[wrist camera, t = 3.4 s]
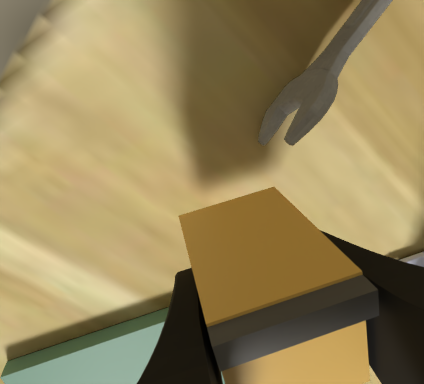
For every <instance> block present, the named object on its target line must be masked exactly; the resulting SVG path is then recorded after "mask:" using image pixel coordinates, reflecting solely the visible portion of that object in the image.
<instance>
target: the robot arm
mask: <svg viewBox="0 0 424 384" xmlns="http://www.w3.org/2000/svg"><path fill="white" fill-rule="evenodd" d="M320 231H321V230H320ZM321 232H322V233H323V234H324V235H325V236H326V237H327V238H328V239H329V240H330V241H331V242H332V243H333V244H334V245H335V246H336V247H337V248H339V249H340V250H341V251H342V252H343V253H344V254H345V255H346V256H347V257H348V258H349V259H350V260H351V261H352V262H353V263H354V264H355V265H356V266H357V267H358V268H359V269H360V270H362V274H363V275H364V276H365V277H366V278H367V279H368V280H369V281H370V282H371V283H372V284H373V285H374V286H375V287H376V288H377V289H378V298H379V316H377V317H374V318H371V319H368V320H366V330H367V344H368V359H369V365H370V366H371V368H372V369H373V371H374V373H375V374H376V376H377V377H378V379H379V380H380V382H381V383H382V384H424V252H421V253H418V254H415V255H412V256H409V257H406V258H403V259H401V260H396V259H393V258H390V257H387V256H384V255H381V254H378V253H375V252H372V251H369V250H367V249H364V248H361V247H359V246H356V245H354V244H351V243H349V242H347V241H344V240H342V239H339V238H337V237H335V236H332V235H330V234H328V233H325V232H323V231H321ZM137 384H223V381H222V375H221V372H220V370H219V367H218V364H217V361H216V358H215V355H214V352H213V349H212V345H211V341H210V337H209V333H208V329H207V326H206V322H205V318H204V314H203V310H202V306H201V302H200V298H199V294H198V291H197V287H196V283H195V279H194V275H193V271H192V268H190V269H186V270H183V271H180V272H177V274H176V276H175V284H174V290H173V294H172V299H171V303H170V306H169V310H168V314H167V317H166V320H165V323H164V326H163V328H162V331H161V334H160V337H159V339H158V342H157V344H156V346H155V349H154V351H153V353H152V355H151V357H150V360H149V362H148V364H147V366H146V367H145V369H144V371H143V373H142V375H141V377H140V379H139V381H138V382H137Z"/></svg>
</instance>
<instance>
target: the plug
mask: <svg viewBox="0 0 424 384" xmlns="http://www.w3.org/2000/svg"><path fill="white" fill-rule="evenodd" d="M179 219H180V223H181V227H182V231H183V235H184V239H185V243H186V247H187V251H188V255H189V259H190V263H191V267H192V271H193V275H194V279H195V283H196V287H197V291H198V294H199V298H200V302H201V306H202V310H203V314H204V318H205V322H206V326H207V329H208V333H209V337H210V341H211V345H212V349H213V352H214V355H215V358H216V361H217V364H218V367H219V370H220V372H222V375H223V378H224V381H225V384H363V383H366V382H368V381H370V373H369V359H368V344H367V330H366V320H368V319H371V318H374V317H377V316H379V298H378V289H377V288H376V287H375V286H374V285H373V284H372V283H371V282H370V281H369V280H368V279H367V278H366V277H365V276H364V275H363V274H362V270H360V269H359V268H358V267H357V266H356V265H355V264H354V263H353V262H352V261H351V260H350V259H349V258H348V257H347V256H346V255H345V254H344V253H343V252H342V251H341V250H340V249H339V248H337V247H336V246H335V245H334V244H333V243H332V242H331V241H330V240H329V239H328V238H327V237H326V236H325V235H324V234H323V233H322V232H321V231H320V230H319V229H318V228H317V227H316V226H315V225H313V224H312V223H311V222H310V221H309V220H308V219H307V218H306V217H305V216H304V215H303V214H302V213H301V212H300V211H299V210H298V209H297V208H296V207H295V206H294V205H293V204H292V203H290V202H289V201H288V200H287V199H286V198H285V197H284V196H283V195H282V194H281V193H280V192H279V191H278V190H277V189H276V188H275V187H271V188H268V189H265V190H261V191H258V192H255V193H252V194H248V195H245V196H242V197H239V198H235V199H232V200H229V201H226V202H222V203H219V204H216V205H212V206H209V207H206V208H203V209H199V210H196V211H193V212H190V213H186V214H183V215H180V216H179Z"/></svg>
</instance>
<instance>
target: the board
mask: <svg viewBox="0 0 424 384" xmlns="http://www.w3.org/2000/svg"><path fill="white" fill-rule="evenodd" d="M168 310H169V307H168V308H165V309H162V310H159V311H156V312H153V313H150V314H147V315H144V316H141V317H138V318H135V319H132V320H129V321H126V322H123V323H120V324H117V325H114V326H111V327H108V328H105V329H102V330H99V331H97V332H94V333H91V334H88V335H85V336H82V337H79V338H76V339H73V340H70V341H67V342H64V343H61V344H58V345H55V346H52V347H49V348H46V349H43V350H40V351H37V352H34V353H31V354H28V355H25V356H22V357H19V358H16V359H13V360H10V361H7V363H6V365H5V368H4V370H3V373H2V375H1V377H0V378H1V379H2V380H3V382H4V383H5V384H137V382H138V381H139V379H140V377H141V375H142V373H143V371H144V369H145V367H146V366H147V364H148V362H149V360H150V357H151V355H152V353H153V351H154V349H155V346H156V344H157V342H158V339H159V337H160V334H161V331H162V328H163V326H164V323H165V320H166V317H167V314H168ZM221 375H222V372H221ZM222 381H223V384H225V381H224V378H223V375H222Z"/></svg>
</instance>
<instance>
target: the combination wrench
mask: <svg viewBox="0 0 424 384" xmlns="http://www.w3.org/2000/svg"><path fill="white" fill-rule="evenodd" d="M391 2H392V0H362V1H361V2H360V3H359V5H358V6H357V7H356V9H355V10H354V11H353V13H352V14H351V15H350V17H349V18H348V19H347V21H346V22H345V23H344V25H343V26H342V27H341V29H340V30H339V31H338V33H337V34H336V35H335V37H334V38H333V39H332V41H331V42H330V43H329V45H328V46H327V47H326V49H325V50H324V51H323V52H322V53H321V54H320V55H319V57H318V58H317V59H316V60H315V61H314V62H313V63H312V64H311V65H310V66H309V67H308V68H307V69H306V70H305V71H304V72H303V73H302V74H301V75H300V76H298V77H297V78H295V79H293V80H292V81H290V82H289V83H288V84H287V85H286V86H285V87H284V89H283V90H282V91H281V93H280V94H279V95H278V96H277V98H276V99H275V100H274V102H273V103H272V104H271V106H270V107H269V108H268V110H267V111H266V113H265V116H264V119H263V121H262V125H261V129H260V133H259V139H258V142H259V143H260V144H261V145H266V144H267V143H268V141H269V140H270V139H271V138H272V136H273V135H274V134H275V133H276V131H277V130H278V129H279V127H280V126H281V124H282V123H283V121H284V120H285V118H286V117H287V115H289V114H290V113H292V112H293V111H295V110H296V109H298V108H299V109H298V111H297V113H296V115H295V117H294V119H293V121H292V123H291V125H290V127H289V129H288V131H287V133H286V136H285V138H284V140H285V141H286V142H287V143H288V144H289V145H292V146H293V145H294V144H295V143H297V142H298V141H299V140H300V139H301V138H302V137H303V136H305V135H306V134H307V133H308V132H309V131H310V130H311V129H312V128H313V127H314V126H315V125H316V124H317V123H318V122H319V121H320V120H321V119H322V118H323V116H324V115H325V114H326V112H327V111H328V110H329V108H330V106H331V105H332V103H333V101H334V100H335V97H336V94H337V89H338V80H337V78H338V76H339V74H340V72H341V70H342V68H343V67H344V65H345V63H346V61H347V59H348V57H349V56H350V54H351V53H352V52H353V51H354V49H355V48H356V47H357V45H358V44H359V43H360V42H361V40H362V39H363V38H364V36H365V35H366V34H367V33H368V31H369V30H370V29H371V27H372V26H373V25H374V24H375V22H376V21H377V20H378V18H379V17H380V16H381V15H382V13H383V12H384V11H385V9H386V8H387V7H388V5H389V4H390V3H391Z"/></svg>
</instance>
